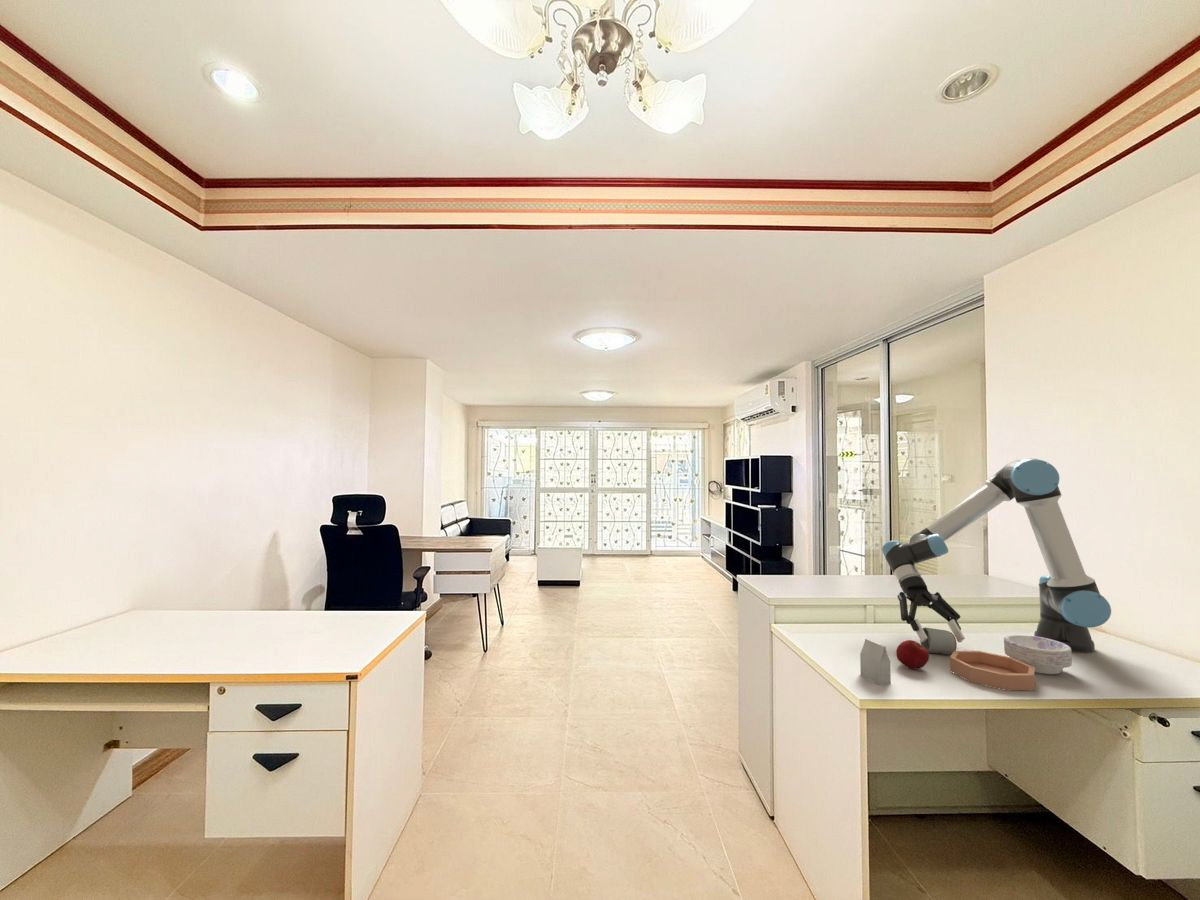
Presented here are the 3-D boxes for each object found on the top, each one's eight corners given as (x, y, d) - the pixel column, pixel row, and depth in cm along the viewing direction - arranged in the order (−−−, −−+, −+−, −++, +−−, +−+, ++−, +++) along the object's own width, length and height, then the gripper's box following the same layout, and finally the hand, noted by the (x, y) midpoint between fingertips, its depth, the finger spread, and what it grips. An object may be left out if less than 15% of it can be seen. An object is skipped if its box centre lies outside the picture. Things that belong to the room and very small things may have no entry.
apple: (912, 674, 142) (912, 645, 142) (890, 663, 149) (890, 636, 150) (935, 672, 143) (934, 644, 143) (912, 662, 151) (911, 635, 151)
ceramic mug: (958, 657, 155) (958, 632, 156) (930, 655, 157) (929, 631, 157) (941, 647, 166) (940, 623, 166) (914, 645, 167) (914, 622, 168)
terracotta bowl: (996, 664, 150) (996, 650, 150) (1053, 690, 132) (1053, 675, 132) (937, 664, 150) (936, 650, 150) (986, 690, 131) (986, 675, 132)
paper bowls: (993, 663, 151) (992, 636, 152) (1022, 656, 157) (1021, 631, 158) (1054, 682, 137) (1054, 653, 138) (1083, 674, 143) (1082, 646, 144)
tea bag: (879, 684, 134) (879, 647, 135) (860, 675, 141) (860, 639, 141) (890, 683, 135) (890, 646, 136) (871, 673, 142) (870, 638, 142)
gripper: (938, 587, 176) (973, 646, 160) (872, 586, 176) (901, 645, 159) (949, 575, 171) (986, 634, 155) (881, 574, 171) (912, 634, 154)
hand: (943, 640), depth 157 cm, fingers open, 11 cm apart
